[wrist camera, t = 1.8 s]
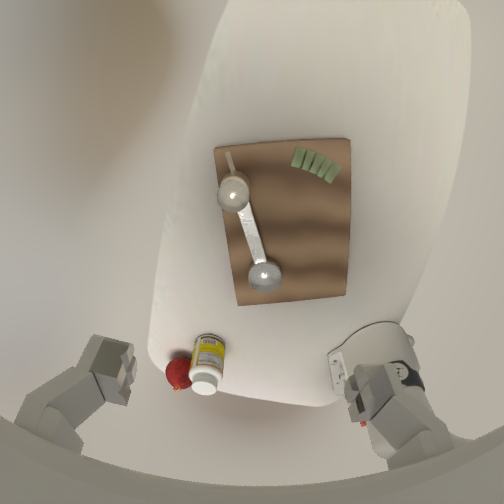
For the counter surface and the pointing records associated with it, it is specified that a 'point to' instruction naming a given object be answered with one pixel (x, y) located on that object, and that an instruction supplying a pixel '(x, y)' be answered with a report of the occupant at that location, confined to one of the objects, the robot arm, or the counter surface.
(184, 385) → the onion
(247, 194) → the silver measuring spoon
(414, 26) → the counter surface
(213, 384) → the supplement bottle
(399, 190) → the counter surface
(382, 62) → the counter surface
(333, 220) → the board
